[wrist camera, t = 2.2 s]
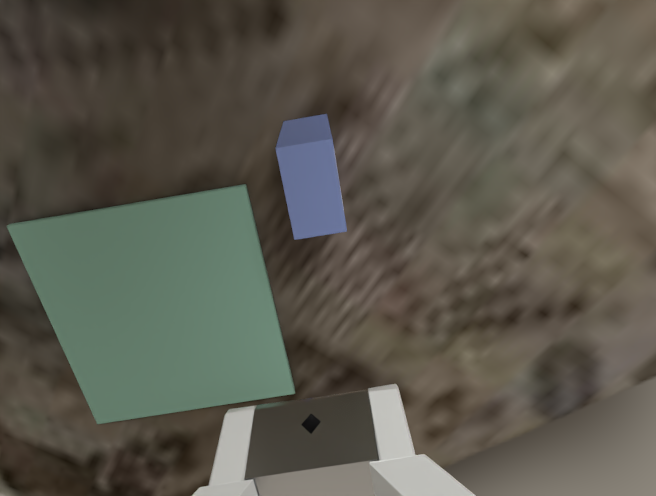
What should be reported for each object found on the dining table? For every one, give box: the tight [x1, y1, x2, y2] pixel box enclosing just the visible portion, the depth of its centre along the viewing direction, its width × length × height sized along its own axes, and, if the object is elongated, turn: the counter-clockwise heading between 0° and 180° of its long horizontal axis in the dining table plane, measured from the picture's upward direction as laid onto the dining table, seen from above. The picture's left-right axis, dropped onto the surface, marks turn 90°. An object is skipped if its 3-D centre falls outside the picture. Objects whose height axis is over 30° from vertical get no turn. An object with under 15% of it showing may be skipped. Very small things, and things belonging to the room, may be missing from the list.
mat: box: [7, 184, 295, 424], centre depth 31 cm, size 15×14×1 cm
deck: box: [276, 114, 347, 240], centre depth 24 cm, size 4×2×7 cm, turn 9°
